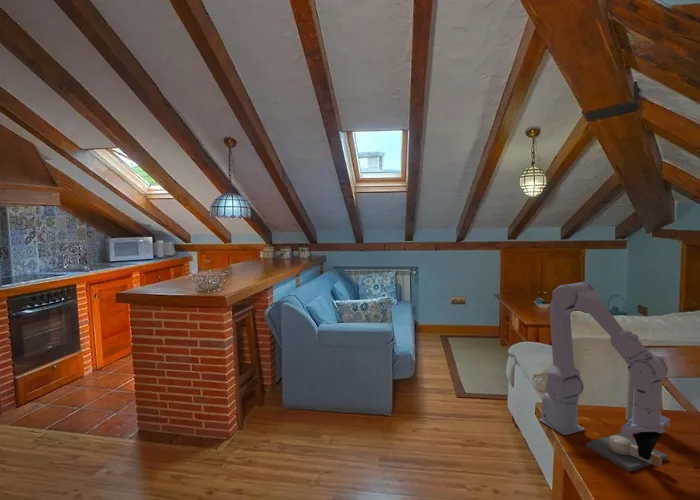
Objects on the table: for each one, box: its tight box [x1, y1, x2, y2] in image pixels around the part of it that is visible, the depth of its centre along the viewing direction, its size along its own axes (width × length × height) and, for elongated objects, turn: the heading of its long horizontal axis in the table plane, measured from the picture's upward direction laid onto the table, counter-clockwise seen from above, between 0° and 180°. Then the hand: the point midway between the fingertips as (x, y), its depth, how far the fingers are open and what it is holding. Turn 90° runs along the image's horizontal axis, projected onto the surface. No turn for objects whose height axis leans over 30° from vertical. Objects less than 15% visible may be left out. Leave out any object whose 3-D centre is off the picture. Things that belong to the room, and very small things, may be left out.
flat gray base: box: [585, 432, 668, 473], centre depth 108 cm, size 12×14×1 cm
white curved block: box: [609, 435, 663, 468], centre depth 105 cm, size 12×5×2 cm, turn 35°
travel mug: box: [625, 364, 633, 423], centre depth 122 cm, size 6×7×20 cm
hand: (644, 457), depth 102 cm, fingers closed, pressing on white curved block
